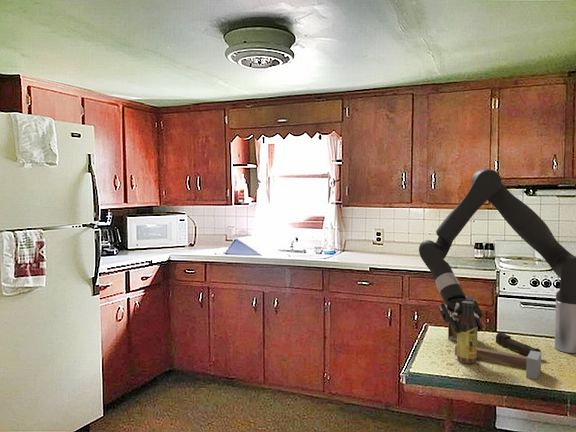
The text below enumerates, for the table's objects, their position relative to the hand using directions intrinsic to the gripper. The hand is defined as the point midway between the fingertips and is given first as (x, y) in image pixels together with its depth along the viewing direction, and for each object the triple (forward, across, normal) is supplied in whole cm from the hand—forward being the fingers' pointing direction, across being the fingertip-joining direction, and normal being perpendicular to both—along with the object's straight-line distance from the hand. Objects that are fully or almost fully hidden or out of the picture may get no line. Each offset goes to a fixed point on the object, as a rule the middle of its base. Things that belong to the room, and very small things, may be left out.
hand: (470, 331), depth 159 cm
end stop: (+17, +13, -2) cm, 22 cm away
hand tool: (+4, +22, +12) cm, 25 cm away
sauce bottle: (+7, 0, +9) cm, 11 cm away
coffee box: (-8, +12, +23) cm, 27 cm away
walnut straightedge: (+7, +8, +7) cm, 13 cm away
